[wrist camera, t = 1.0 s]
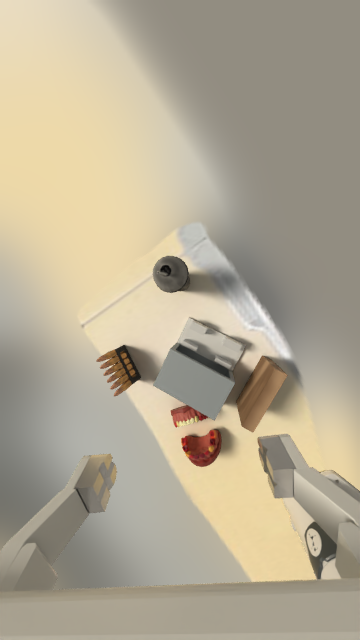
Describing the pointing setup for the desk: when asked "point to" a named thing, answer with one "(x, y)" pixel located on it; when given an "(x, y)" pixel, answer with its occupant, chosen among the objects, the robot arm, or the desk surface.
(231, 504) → the desk surface
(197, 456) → the teeth
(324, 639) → the robot arm
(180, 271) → the beverage cup
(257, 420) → the door
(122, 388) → the ammunition clip
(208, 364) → the cabinet
